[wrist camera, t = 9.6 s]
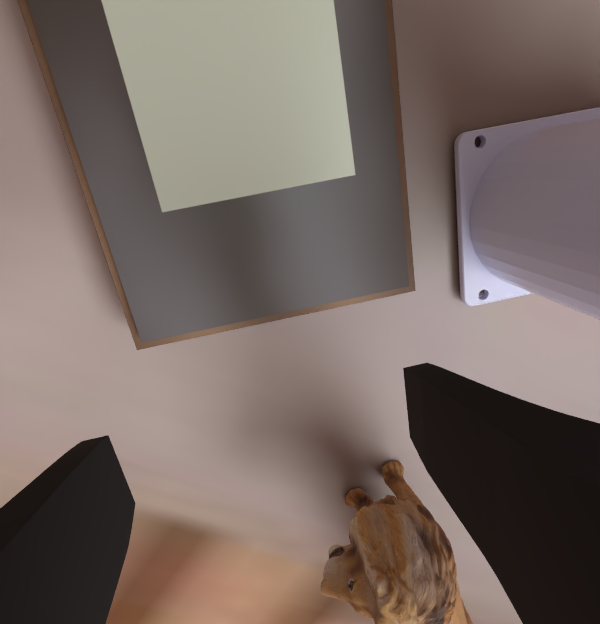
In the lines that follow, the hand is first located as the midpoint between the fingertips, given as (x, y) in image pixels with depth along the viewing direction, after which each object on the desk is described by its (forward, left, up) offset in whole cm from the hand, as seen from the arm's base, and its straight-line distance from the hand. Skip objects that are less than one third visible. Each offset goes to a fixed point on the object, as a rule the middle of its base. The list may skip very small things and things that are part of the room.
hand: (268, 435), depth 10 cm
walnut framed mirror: (-1, -8, -10) cm, 13 cm away
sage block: (-1, -8, -7) cm, 11 cm away
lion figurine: (-5, +15, -10) cm, 18 cm away
